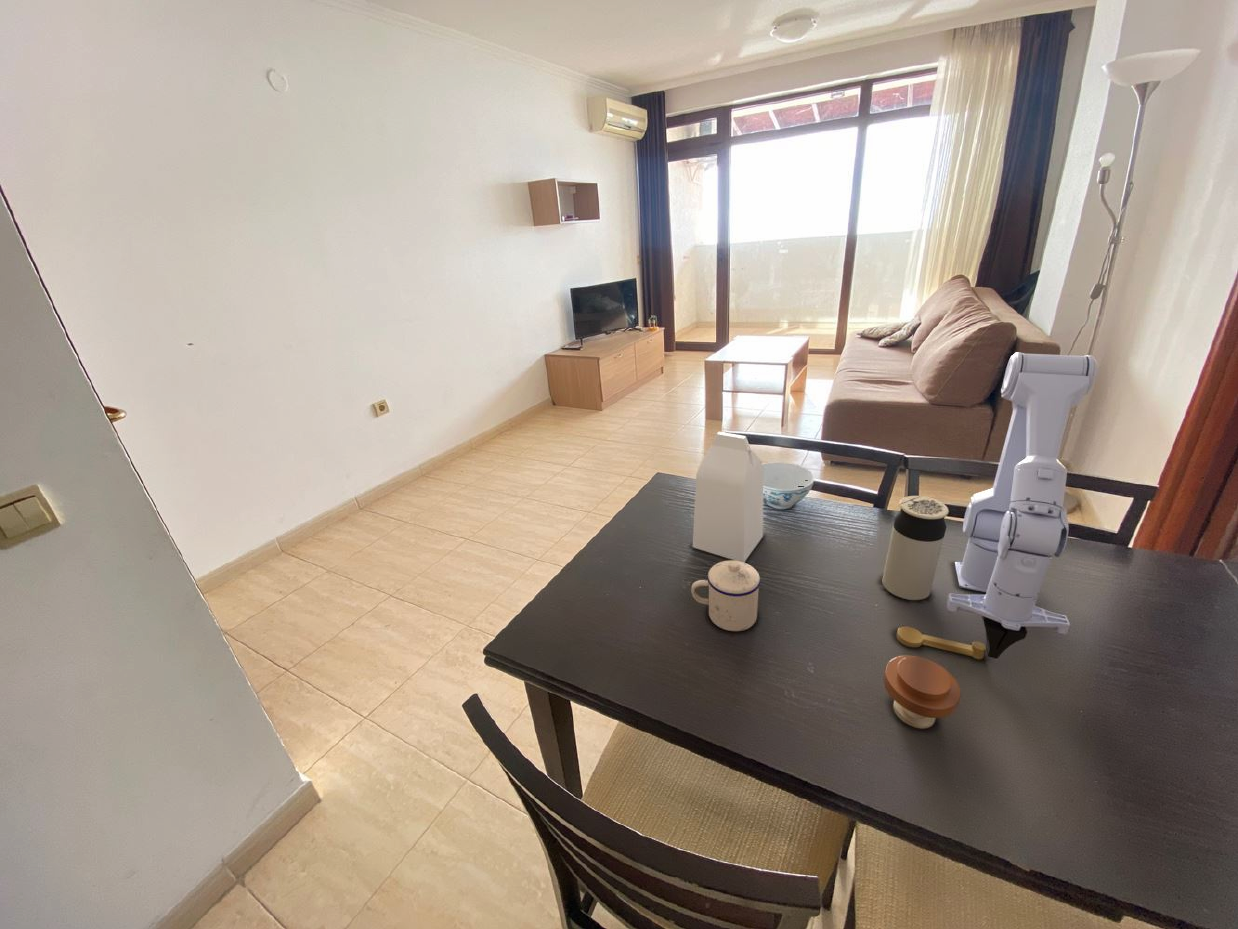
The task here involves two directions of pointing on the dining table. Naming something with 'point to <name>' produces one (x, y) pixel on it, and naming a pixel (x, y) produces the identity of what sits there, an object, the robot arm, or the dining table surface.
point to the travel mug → (915, 547)
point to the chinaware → (785, 484)
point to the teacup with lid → (731, 595)
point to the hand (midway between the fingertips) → (991, 653)
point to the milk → (729, 499)
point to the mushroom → (921, 690)
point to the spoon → (939, 643)
